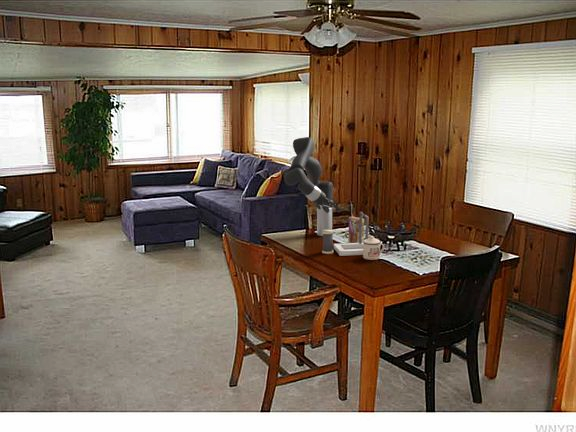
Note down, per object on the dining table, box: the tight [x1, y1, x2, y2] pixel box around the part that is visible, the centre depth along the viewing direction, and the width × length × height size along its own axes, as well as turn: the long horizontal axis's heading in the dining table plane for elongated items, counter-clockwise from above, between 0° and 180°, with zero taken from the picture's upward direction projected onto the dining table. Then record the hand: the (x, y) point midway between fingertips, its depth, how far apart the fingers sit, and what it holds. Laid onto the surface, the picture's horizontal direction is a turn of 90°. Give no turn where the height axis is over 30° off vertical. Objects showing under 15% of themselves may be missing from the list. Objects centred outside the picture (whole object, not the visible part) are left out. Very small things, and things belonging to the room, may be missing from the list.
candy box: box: [347, 216, 365, 243], centre depth 326 cm, size 9×4×15 cm, turn 39°
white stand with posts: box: [333, 211, 370, 257], centre depth 309 cm, size 16×20×21 cm
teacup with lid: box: [362, 235, 385, 261], centre depth 297 cm, size 12×9×12 cm
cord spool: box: [321, 229, 335, 255], centre depth 308 cm, size 6×6×12 cm
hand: (334, 211), depth 302 cm, fingers open, 8 cm apart
